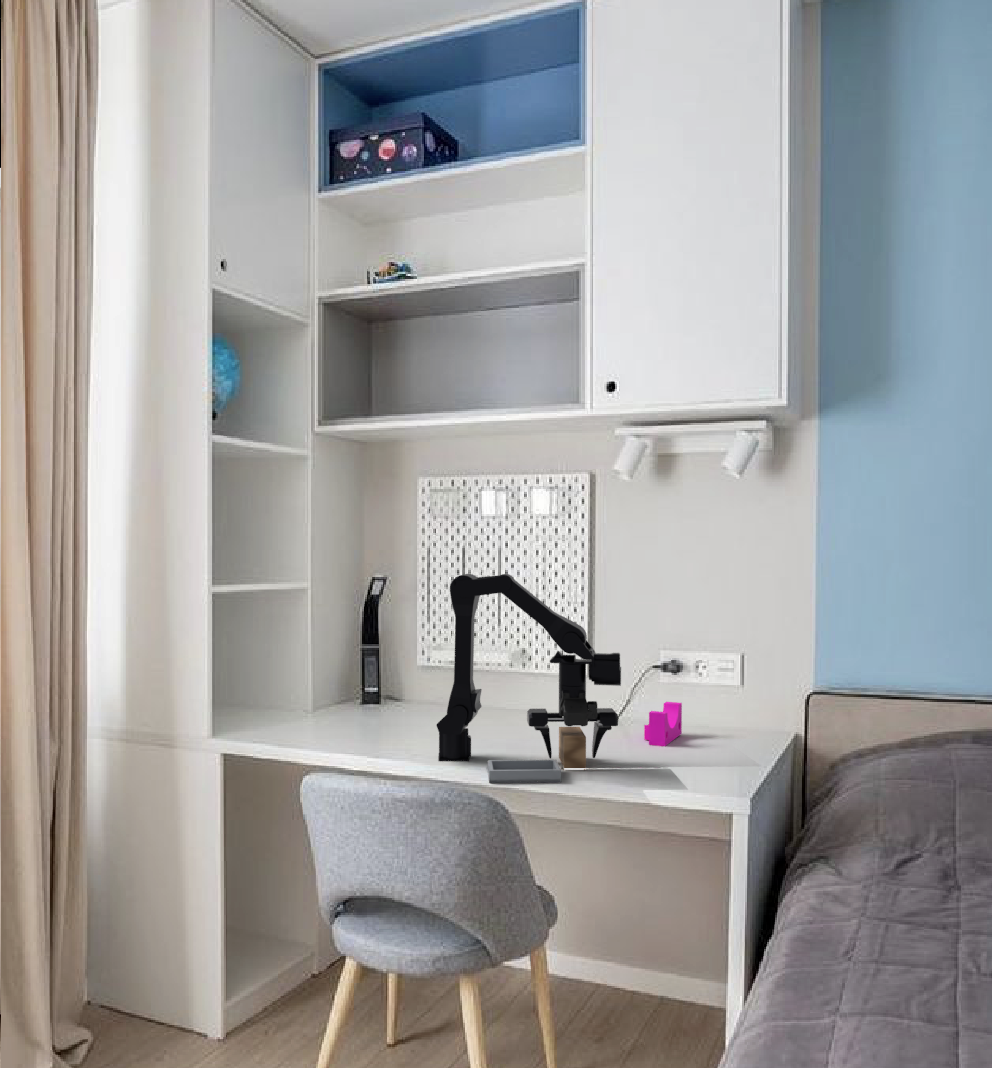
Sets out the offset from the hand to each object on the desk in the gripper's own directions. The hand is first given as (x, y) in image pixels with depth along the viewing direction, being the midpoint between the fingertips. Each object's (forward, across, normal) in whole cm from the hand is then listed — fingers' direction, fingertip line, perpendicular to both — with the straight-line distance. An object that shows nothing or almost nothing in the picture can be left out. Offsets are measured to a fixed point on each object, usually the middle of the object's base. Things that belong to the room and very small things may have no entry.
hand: (571, 757), depth 207 cm
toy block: (+2, +24, +25) cm, 35 cm away
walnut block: (+2, 0, 0) cm, 2 cm away
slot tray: (+1, -11, -10) cm, 15 cm away
